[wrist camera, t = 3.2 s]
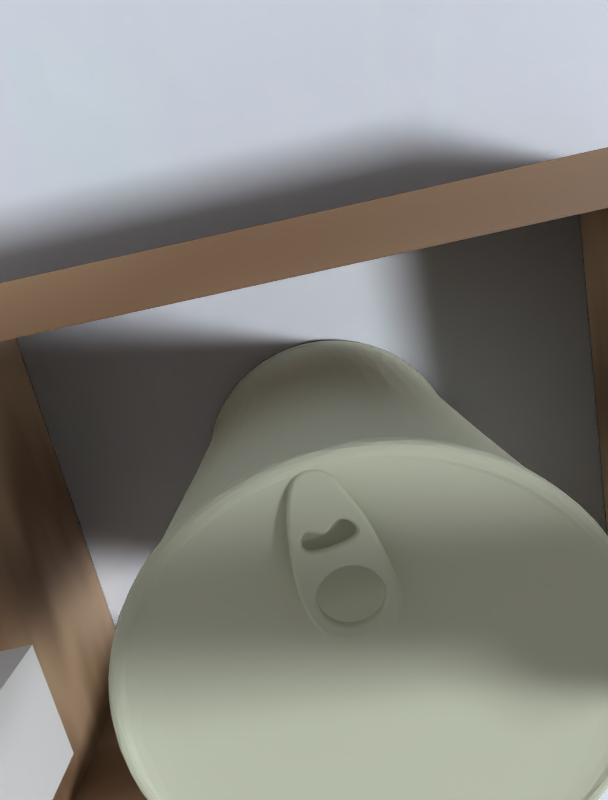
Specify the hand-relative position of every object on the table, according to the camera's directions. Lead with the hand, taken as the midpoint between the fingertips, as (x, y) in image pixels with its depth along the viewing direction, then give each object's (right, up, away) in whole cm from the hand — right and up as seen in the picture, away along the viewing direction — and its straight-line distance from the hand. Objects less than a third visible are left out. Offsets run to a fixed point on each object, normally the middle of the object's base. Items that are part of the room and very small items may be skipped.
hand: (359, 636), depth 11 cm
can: (0, +3, +9) cm, 10 cm away
